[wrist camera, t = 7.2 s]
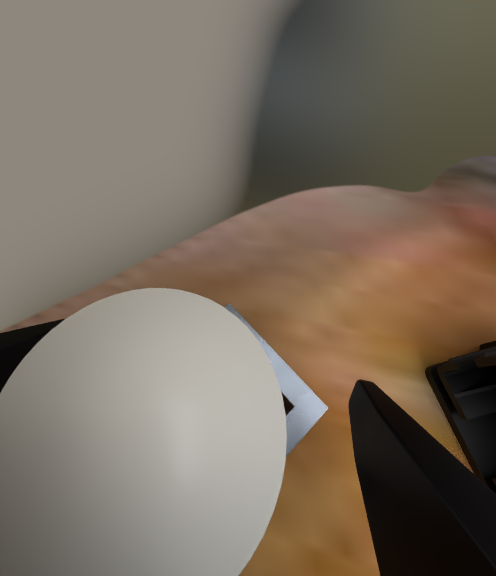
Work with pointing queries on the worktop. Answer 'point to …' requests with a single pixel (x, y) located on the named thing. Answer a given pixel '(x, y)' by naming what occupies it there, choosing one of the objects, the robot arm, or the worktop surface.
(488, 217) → the worktop surface
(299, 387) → the square frame
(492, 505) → the robot arm
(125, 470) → the white tapered peg
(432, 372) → the end cap
